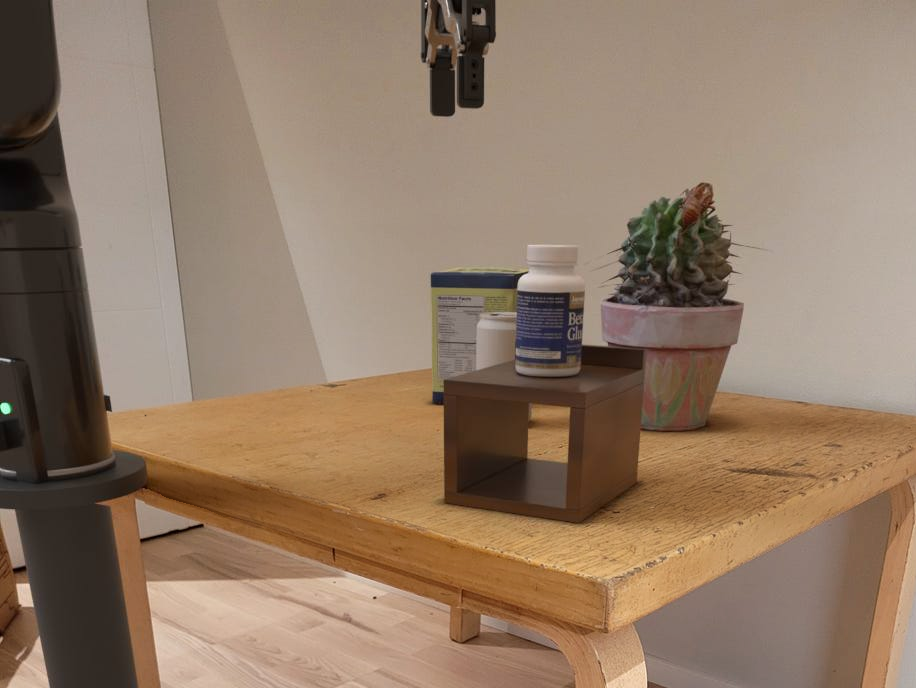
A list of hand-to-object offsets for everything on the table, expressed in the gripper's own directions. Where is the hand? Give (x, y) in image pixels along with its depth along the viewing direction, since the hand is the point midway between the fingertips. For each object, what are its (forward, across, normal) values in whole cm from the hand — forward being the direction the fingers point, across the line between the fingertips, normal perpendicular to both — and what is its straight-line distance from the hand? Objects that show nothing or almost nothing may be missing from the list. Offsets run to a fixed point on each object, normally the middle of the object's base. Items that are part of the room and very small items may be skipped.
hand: (455, 112), depth 84 cm
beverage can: (+30, -12, +9) cm, 34 cm away
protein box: (+30, -30, +13) cm, 44 cm away
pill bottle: (+20, +17, +3) cm, 26 cm away
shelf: (+30, +17, +3) cm, 35 cm away
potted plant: (+30, -8, +27) cm, 41 cm away
